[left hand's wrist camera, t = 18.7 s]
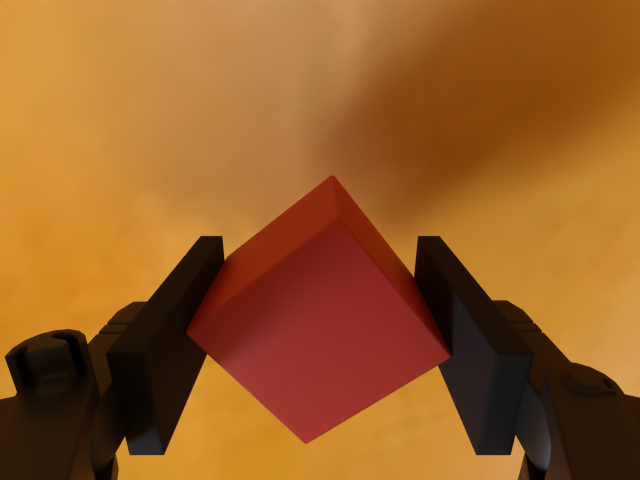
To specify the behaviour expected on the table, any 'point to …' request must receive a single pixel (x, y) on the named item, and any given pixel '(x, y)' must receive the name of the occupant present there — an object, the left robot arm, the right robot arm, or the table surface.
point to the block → (318, 315)
